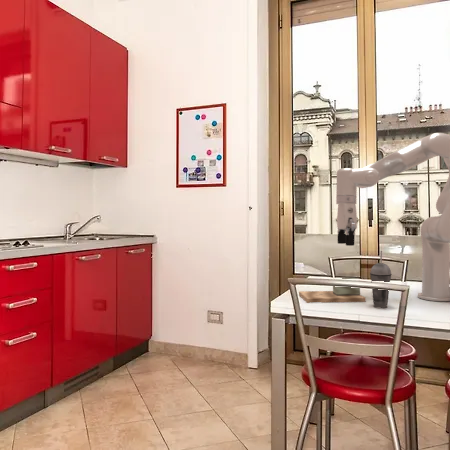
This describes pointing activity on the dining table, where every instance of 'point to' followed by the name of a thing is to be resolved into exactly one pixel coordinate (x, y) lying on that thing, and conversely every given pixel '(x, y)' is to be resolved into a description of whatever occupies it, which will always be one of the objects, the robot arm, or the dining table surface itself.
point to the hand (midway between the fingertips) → (345, 244)
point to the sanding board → (328, 297)
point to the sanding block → (346, 290)
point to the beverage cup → (380, 274)
